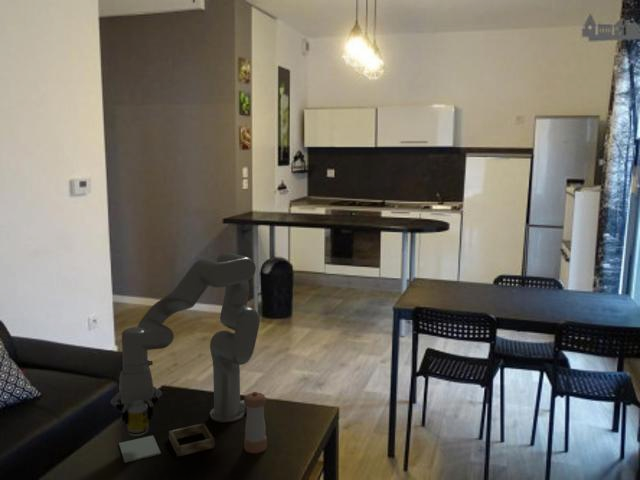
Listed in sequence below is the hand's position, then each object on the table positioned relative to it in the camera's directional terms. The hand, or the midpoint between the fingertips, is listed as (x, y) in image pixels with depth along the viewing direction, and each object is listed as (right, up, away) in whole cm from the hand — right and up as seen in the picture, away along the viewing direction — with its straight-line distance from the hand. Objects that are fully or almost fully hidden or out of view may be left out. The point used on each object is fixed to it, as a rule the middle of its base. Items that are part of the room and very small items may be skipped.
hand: (137, 419), depth 176 cm
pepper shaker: (+38, -10, +3) cm, 39 cm away
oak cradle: (+16, -10, +6) cm, 20 cm away
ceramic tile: (0, -10, +2) cm, 10 cm away
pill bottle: (0, -4, +1) cm, 4 cm away
